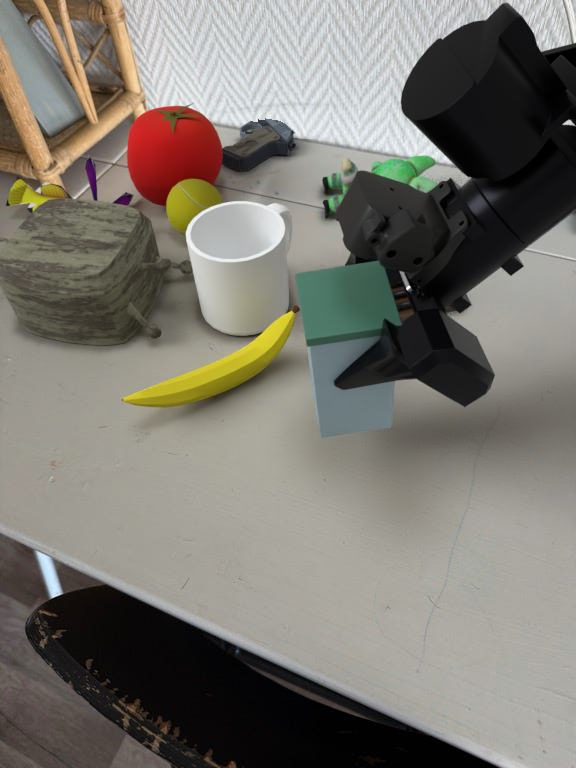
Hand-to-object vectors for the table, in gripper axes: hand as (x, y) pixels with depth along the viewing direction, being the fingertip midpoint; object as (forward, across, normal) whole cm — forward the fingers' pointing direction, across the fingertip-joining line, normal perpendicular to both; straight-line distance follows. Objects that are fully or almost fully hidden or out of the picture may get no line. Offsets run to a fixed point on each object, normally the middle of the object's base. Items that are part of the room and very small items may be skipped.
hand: (329, 351), depth 46 cm
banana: (+16, -8, +2) cm, 18 cm away
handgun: (+14, -53, +2) cm, 55 cm away
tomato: (+18, -44, 0) cm, 47 cm away
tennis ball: (+13, -31, 0) cm, 34 cm away
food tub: (+4, 0, +6) cm, 7 cm away
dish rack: (+1, -18, +17) cm, 25 cm away
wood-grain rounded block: (+15, -20, -4) cm, 25 cm away
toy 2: (+3, -38, +12) cm, 40 cm away
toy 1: (+21, -43, -12) cm, 50 cm away
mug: (+12, -20, +5) cm, 24 cm away
